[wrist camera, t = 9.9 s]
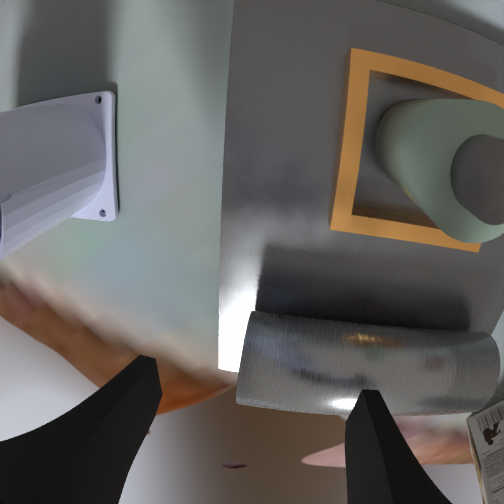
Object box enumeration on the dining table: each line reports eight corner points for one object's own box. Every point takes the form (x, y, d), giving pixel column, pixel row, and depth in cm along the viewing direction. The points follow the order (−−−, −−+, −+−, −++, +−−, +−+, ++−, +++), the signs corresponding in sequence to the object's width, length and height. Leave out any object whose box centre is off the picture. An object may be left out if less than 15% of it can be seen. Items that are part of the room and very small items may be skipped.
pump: (373, 188, 14) (421, 256, 8) (375, 94, 12) (435, 87, 6) (454, 194, 13) (534, 258, 7) (460, 106, 11) (555, 119, 5)
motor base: (225, 349, 22) (199, 428, 16) (243, 0, 12) (205, -60, 6) (453, 368, 20) (479, 437, 14) (538, 77, 10) (614, 81, 4)
